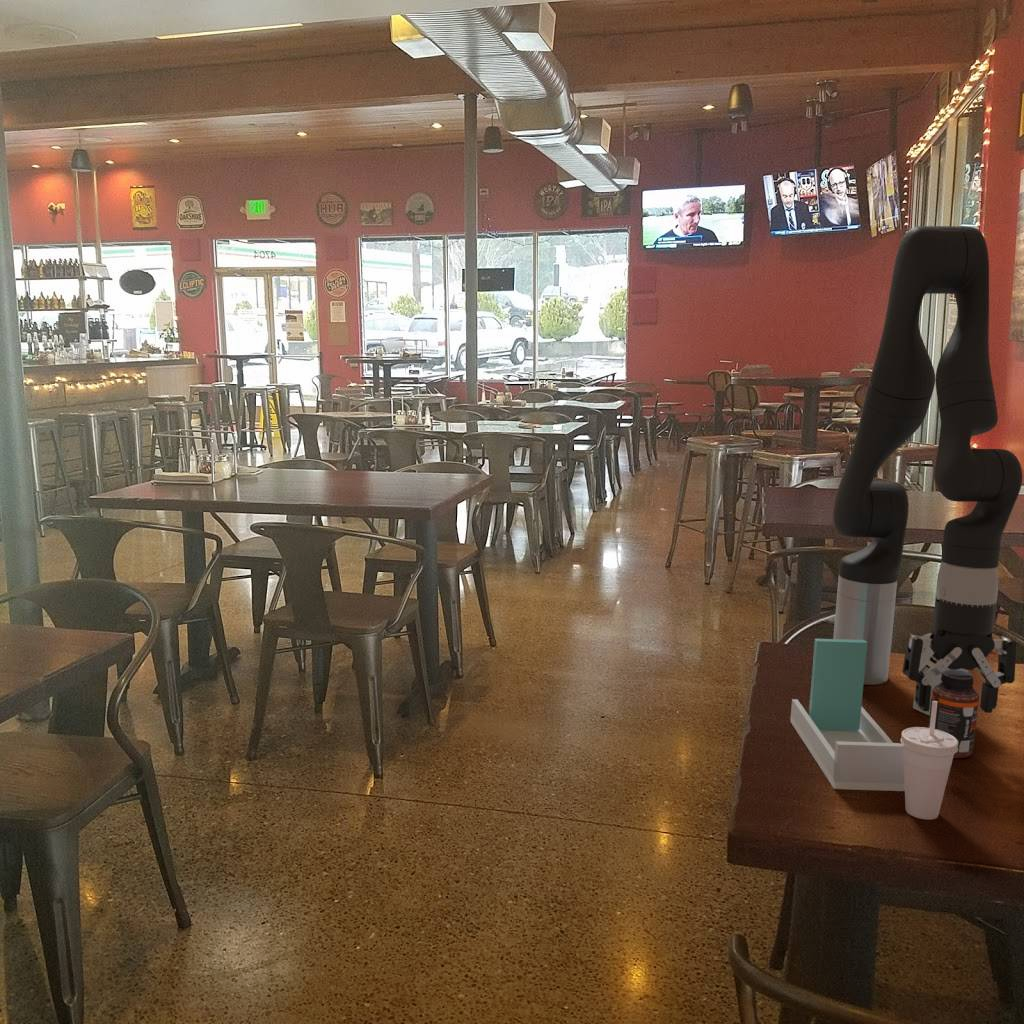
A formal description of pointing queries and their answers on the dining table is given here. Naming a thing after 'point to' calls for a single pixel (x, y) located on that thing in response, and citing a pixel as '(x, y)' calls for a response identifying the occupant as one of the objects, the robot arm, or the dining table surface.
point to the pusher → (837, 683)
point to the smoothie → (926, 767)
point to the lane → (853, 753)
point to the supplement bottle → (956, 709)
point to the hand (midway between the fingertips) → (954, 710)
